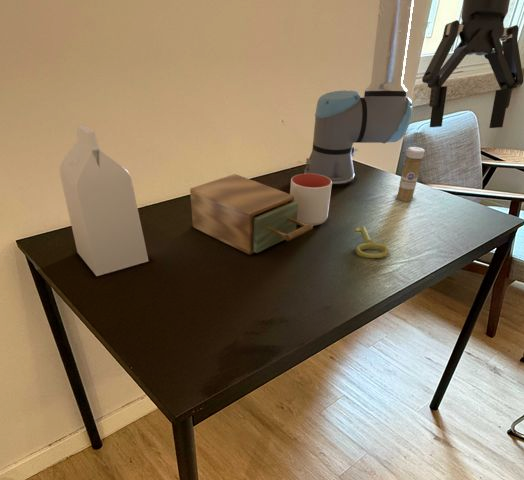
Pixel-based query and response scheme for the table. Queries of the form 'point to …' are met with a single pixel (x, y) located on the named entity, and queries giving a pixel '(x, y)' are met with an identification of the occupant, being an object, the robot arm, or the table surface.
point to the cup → (311, 197)
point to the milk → (101, 207)
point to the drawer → (276, 226)
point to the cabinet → (233, 208)
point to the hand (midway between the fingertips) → (466, 127)
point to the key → (369, 246)
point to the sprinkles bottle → (410, 173)
